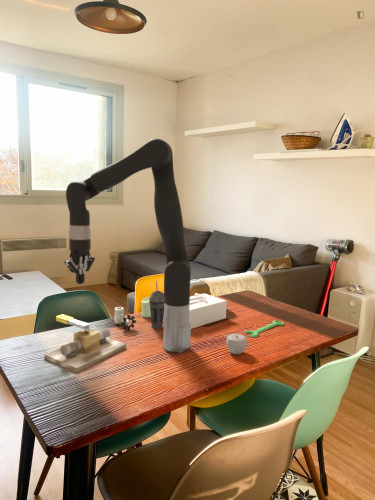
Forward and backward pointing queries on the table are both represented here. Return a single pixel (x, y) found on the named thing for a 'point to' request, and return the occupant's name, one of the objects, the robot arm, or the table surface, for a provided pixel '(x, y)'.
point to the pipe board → (85, 358)
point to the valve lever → (73, 322)
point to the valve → (123, 318)
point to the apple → (236, 343)
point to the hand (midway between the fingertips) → (80, 283)
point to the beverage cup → (156, 308)
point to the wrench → (264, 328)
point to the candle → (146, 307)
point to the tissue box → (206, 309)
